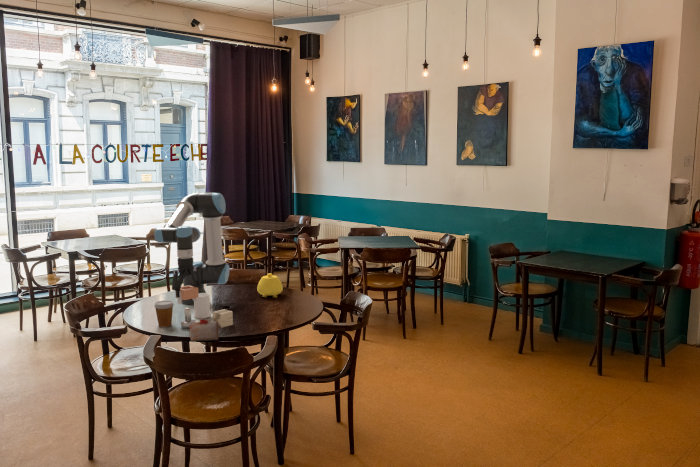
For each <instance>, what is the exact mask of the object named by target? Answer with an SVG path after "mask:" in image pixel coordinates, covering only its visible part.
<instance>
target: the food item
mask: <svg viewBox="0 0 700 467" xmlns="http://www.w3.org/2000/svg"><path fill="white" fill-rule="evenodd" d="M189 327H190V329H189V338H190V341H191V342H204V341H205V342H206V341H218V340H219V338H220V337H219V336H220V334H219V333H220V332H219V327H218V321H213V320H212V321H210V320H208V319H206V318H202V319H200V320H199V321H195V323H191V325H190V326H189Z"/></svg>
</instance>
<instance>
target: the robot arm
mask: <svg viewBox="0 0 700 467" xmlns="http://www.w3.org/2000/svg"><path fill="white" fill-rule="evenodd" d="M226 205H227V204H226V200H225V197H224V195H223V194H222V193H220V192H194V193H190V194H188V195H186V196H183V198H182V199H181V200H180V201H178V203H177V204H176V209H175V211H173V213H172V215H171V216H170V217H169V219H168V220H167V221H166V223H165V224H164V225H163V227H156V228H155V230H154V234H153V235H154V240H155V241H156V242H157V243H163V244H166V243H170V244H171V243H173V244H174V243H176V248H177V249H176V250H177V251H176V253H177V266H178V267H177V269H175V270H172V284H171V290H172V291H176V293H175V298H176V297H177V298H176V299H177V301H176V302H177V304H178V305H182V304H184V305H194V301H197V298H193V299H188V300H182V296H181V291H180V288H181V287H182V284H183V286H188V285H190V286H194V287H198V293H207V292H206V290H205V289H206V288H205V285H225V284H227V282H228V280H229V276H230V265H229V264H227V261H226V259H225V258H224V257H223V241H222V224H221V223H222V222H221V218H223V216H224V214H225V213H226V207H227V206H226ZM193 214H201V217H202V218H203V220H204V222H205V225H204V226H205V238H206V252H207V260H205V264H204V262H203V261H201V260H199V261H194V257H193V256H194V247H193V245H194V244H193V243H195V242H197V241H198V240H199V239H200V238H201V231H200V229H198V228H197V227H196V226H193V227H192V226H189V225H184V224H185V222H186V221H187V219H188V218H189V217H190V216H191V215H193Z"/></svg>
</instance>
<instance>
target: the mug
mask: <svg viewBox="0 0 700 467" xmlns="http://www.w3.org/2000/svg"><path fill="white" fill-rule="evenodd" d="M210 304H211V303H210V293H208V292H206V293H198V298H197V301H194V304H193V307H194V308H193V309H194V315H193V317H194V318H195V319H200V320H202V319H204V318H205V319H207V318H210V317H211V309H210V308H211V307H210V306H211V305H210Z"/></svg>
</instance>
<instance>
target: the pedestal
mask: <svg viewBox="0 0 700 467" xmlns="http://www.w3.org/2000/svg"><path fill="white" fill-rule="evenodd" d="M233 313H234V312H233V311H232V310H228V309H225V308H224V309H220V310H219V309H218V310H215V311H212V321H218V328H221V329H223V328H225V327H229V326H233V325H234V319H233V317H234V315H233Z"/></svg>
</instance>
